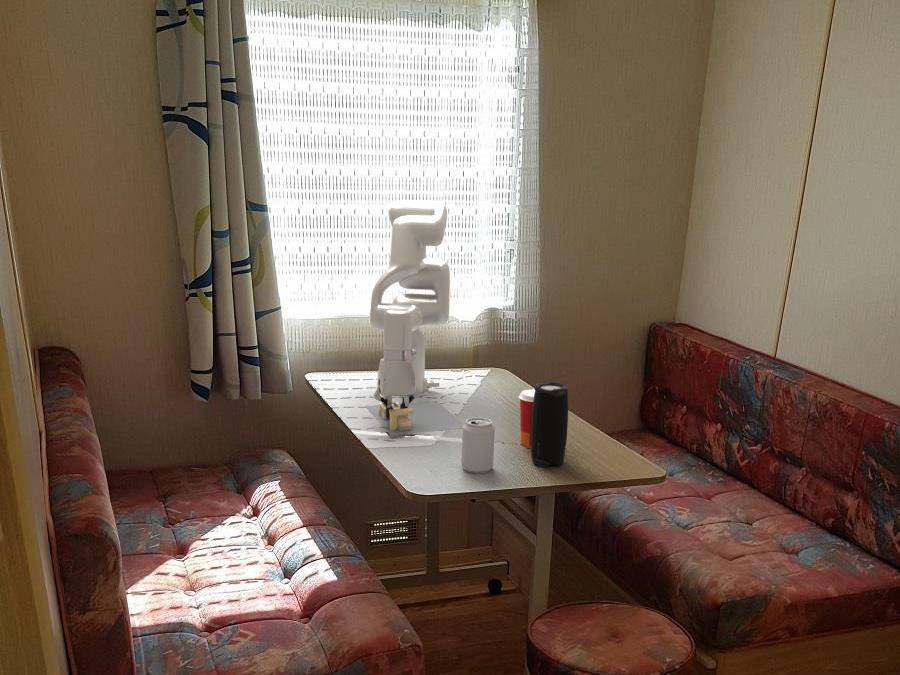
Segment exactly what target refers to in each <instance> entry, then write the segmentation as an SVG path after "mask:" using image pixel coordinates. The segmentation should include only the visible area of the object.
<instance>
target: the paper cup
mask: <svg viewBox="0 0 900 675" xmlns="http://www.w3.org/2000/svg"><path fill="white" fill-rule="evenodd" d="M534 394H535V389H525V390H521V392H520V393H519V396H518V398H519V399H520V403H519V404H520V409H519V410H520V411H519V412H520V416H519V417H520V419H519V420H520V445H521V446H522V447H523V448H525V447H526V449H531V421H532V406H533V400H534Z"/></svg>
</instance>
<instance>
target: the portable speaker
mask: <svg viewBox="0 0 900 675" xmlns="http://www.w3.org/2000/svg"><path fill="white" fill-rule="evenodd" d="M533 390H535V394H534V400H533V406H532V421H531V448H530V455H531V456H530V458H531V460H532V463H533V465H534V466H536V467H539V468H544V469H546V468H547V467H548V466H551V465H557V466H558V467H562V466H563V465H564V464H565V463H564V459H565V454H566V446H567V440H568V439H567V438H568V426H569V425H568V424H569V396H568V394H569V393H568V392H569V389H568V387H567V386H566V385H565V384H564V383H563V382H561V381H548V382H542V383H538V382H536V383H535V385H534V388H533Z"/></svg>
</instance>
